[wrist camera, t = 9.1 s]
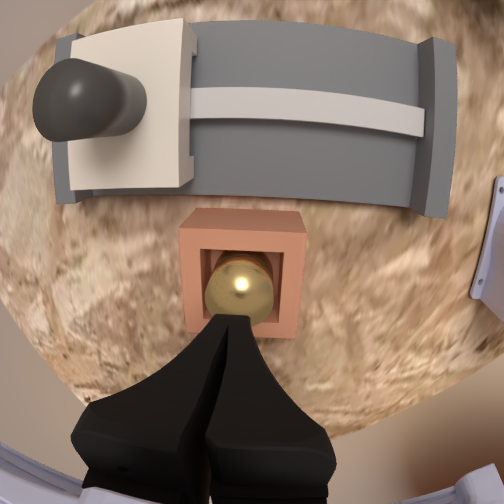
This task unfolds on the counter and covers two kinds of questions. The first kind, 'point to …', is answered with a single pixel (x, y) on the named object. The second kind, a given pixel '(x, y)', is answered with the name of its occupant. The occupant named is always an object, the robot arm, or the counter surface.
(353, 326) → the counter surface
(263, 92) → the rail
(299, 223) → the box
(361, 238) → the counter surface
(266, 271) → the button
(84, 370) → the counter surface
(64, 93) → the carriage
